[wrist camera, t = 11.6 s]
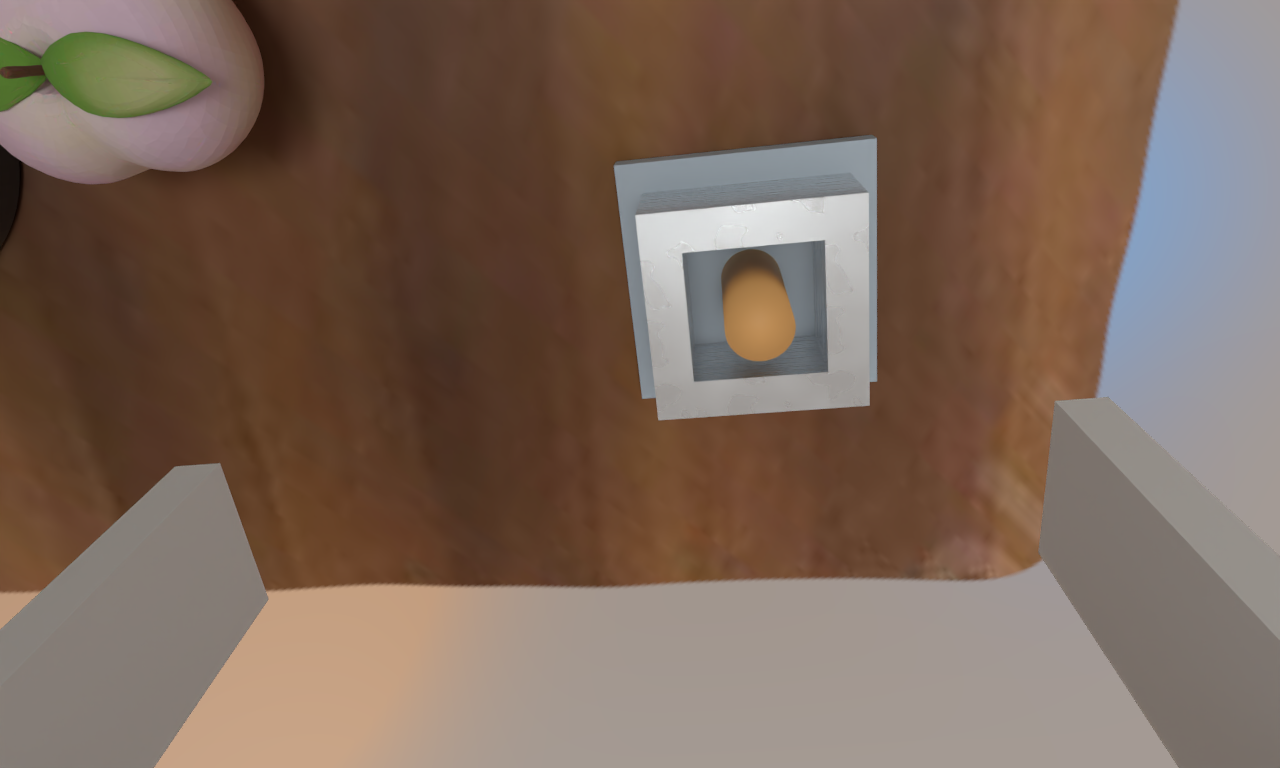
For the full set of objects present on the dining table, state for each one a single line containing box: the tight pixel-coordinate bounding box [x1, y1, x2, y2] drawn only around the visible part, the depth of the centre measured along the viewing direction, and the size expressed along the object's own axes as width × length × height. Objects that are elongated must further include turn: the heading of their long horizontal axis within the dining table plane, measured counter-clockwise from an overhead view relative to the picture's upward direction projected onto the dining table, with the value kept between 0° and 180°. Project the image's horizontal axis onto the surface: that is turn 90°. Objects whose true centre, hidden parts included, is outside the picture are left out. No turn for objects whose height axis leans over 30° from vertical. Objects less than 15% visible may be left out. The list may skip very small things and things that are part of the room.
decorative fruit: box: [0, 0, 264, 184], centre depth 28 cm, size 9×8×10 cm
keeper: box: [614, 135, 877, 399], centre depth 32 cm, size 10×10×7 cm
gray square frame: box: [635, 172, 870, 420], centre depth 32 cm, size 8×8×4 cm
